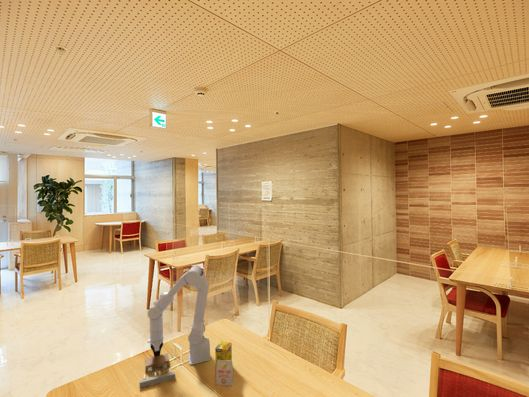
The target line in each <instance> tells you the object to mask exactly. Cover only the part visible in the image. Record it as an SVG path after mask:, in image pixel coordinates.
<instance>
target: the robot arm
mask: <svg viewBox="0 0 529 397" xmlns="http://www.w3.org/2000/svg"><path fill="white" fill-rule="evenodd" d="M188 285H190V286H192V287H193V288H195V289H196V290H197V294H196V303H195V309H194V315H193V320H192V321H193V322H192V325H191V331H190V333H189V335H188V339H187V340H188V344H189V354H187V357H188V362H189V365H190V366H192V365H197V364H200V363H203V362H204V363H205V362H209V361H211V343H210V339H209V337H205V335H204V334H205V331H206V325H205V315H206V308H207V301H208V294H209V288H210V287H209V286H210V285H209V281H208V279H207V277H206V274H205V270H204V269H202V267H201V266H200V265H193V266H191V267H190V269H189V270H187V271H185V273H184V274H182V275H181V277H179V279H178V280H177V281H176V282H175V284H174V285H173V286H172V287H171V288H170V290H169V291H165V292H162V293H161V294H160V295H159V298H158V299H157V300H155V301H154V302H153V304H152V306H151V307H150V308H149V309H148V311H147V317H148V318H149V334H150V335H149V338H148V339H147V343H150V349H151V351H152V353H153V357H154V356H159V355H161V351H162V348H163V346H164V326H163V323H164V321H163V312H164V311H166V309H167V308H168V307H169V306H170V305H172V303H173V302H174V298H175V297H174V296H175V295H176V294H177V293H178V292H179V291H180V289H182V288H183V286H188Z"/></svg>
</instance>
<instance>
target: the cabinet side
mask: <svg viewBox="0 0 529 397" xmlns="http://www.w3.org/2000/svg"><path fill="white" fill-rule="evenodd" d="M168 369H169V370H168V371H169V372H168V373H164V374H162V373H161V370H158V375H157V371H154V376H151V377H147V378H146V374H147V373H146V374H145V373H143V379H140V380H139V389H142V388H145V387H149V386H152V385H153V386H154V385H157V384H160V383H164V382H169V381H173V380H175V379H176V371H172V368H171V367H169V368H168Z"/></svg>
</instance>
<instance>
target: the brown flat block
mask: <svg viewBox="0 0 529 397" xmlns="http://www.w3.org/2000/svg"><path fill="white" fill-rule="evenodd" d="M169 357H170V356H169V353H164V354H160V355H159V356H154V355H153V356H151V357H146V358H145V365H144V366H145V368H144V369H145V371H144V372H147V374H148V375H152V374H153V371H154V370H155V371H156V370H159V369H162V372H164V371H167V369H168V368H167V367H169V366H170V358H169Z"/></svg>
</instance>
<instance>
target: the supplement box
mask: <svg viewBox="0 0 529 397" xmlns="http://www.w3.org/2000/svg"><path fill="white" fill-rule="evenodd" d="M232 344H233V343H232V342H231V341H230V342H229V341H223V340H222V341H221V340H220V341H219V342H218V344H217V345H216V346H215V348H214V349H215V352H214V353H215V357H214V358H215V362H214V363H216V360H232V361H233V359H232V357H233V355H232V353H233V352H232V350H233V349H232V348H233V346H232Z"/></svg>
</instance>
